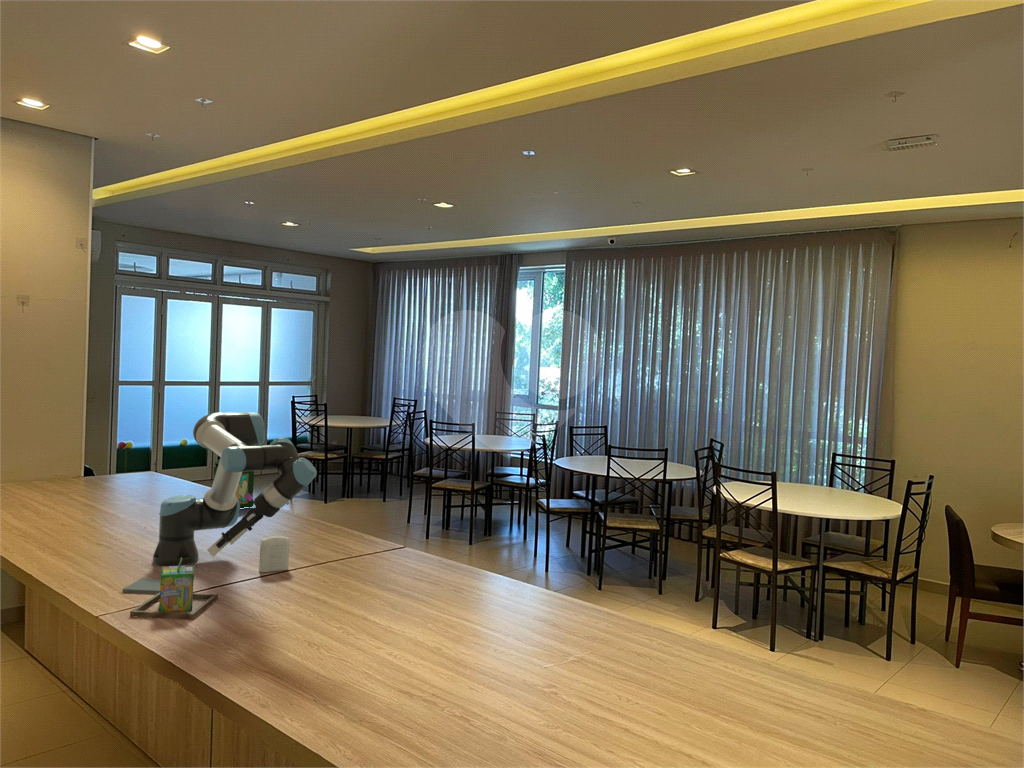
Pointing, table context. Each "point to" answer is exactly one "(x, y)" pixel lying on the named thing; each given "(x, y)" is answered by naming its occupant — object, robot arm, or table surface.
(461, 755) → the table surface
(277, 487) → the robot arm
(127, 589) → the mat
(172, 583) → the chalk box
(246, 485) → the container
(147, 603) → the holder frame
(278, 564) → the white tombstone
